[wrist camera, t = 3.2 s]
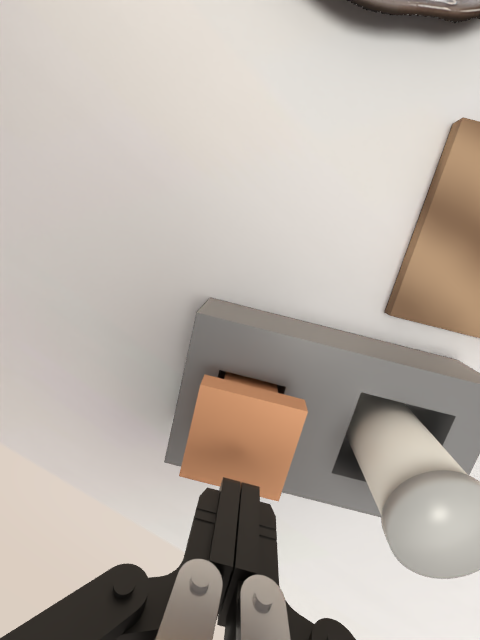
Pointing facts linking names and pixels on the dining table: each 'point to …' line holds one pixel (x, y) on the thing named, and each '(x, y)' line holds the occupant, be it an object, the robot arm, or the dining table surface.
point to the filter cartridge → (417, 490)
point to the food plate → (425, 8)
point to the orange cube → (243, 433)
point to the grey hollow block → (328, 392)
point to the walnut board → (446, 243)
